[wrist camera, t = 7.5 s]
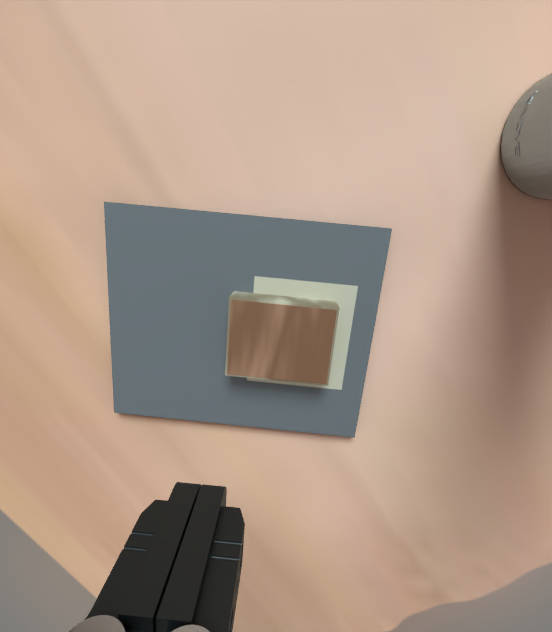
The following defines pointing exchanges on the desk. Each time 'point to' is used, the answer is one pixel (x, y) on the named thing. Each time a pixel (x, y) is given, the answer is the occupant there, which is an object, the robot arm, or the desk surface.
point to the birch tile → (280, 337)
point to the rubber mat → (212, 312)
